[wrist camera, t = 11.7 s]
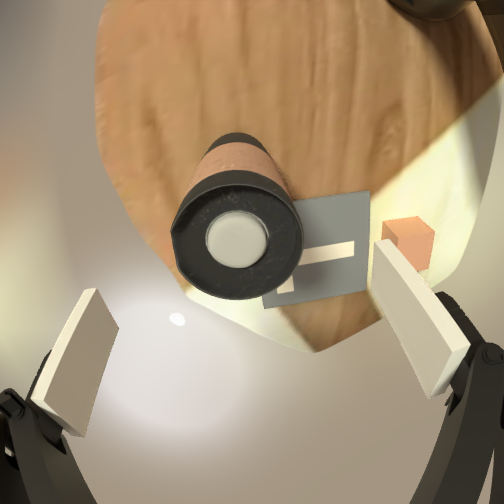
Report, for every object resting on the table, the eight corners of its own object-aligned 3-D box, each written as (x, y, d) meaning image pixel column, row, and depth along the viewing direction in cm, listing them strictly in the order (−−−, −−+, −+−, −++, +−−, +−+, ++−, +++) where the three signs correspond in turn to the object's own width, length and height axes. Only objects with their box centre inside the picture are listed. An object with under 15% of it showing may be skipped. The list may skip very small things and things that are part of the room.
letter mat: (368, 190, 36) (370, 192, 35) (364, 287, 44) (366, 290, 43) (245, 208, 36) (245, 210, 36) (263, 306, 45) (264, 308, 44)
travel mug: (283, 160, 33) (334, 243, 16) (239, 204, 36) (242, 320, 19) (234, 116, 31) (231, 148, 13) (190, 165, 33) (142, 253, 16)
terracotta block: (417, 215, 38) (434, 231, 34) (412, 250, 41) (428, 268, 37) (382, 220, 38) (398, 237, 34) (379, 257, 41) (393, 276, 37)
